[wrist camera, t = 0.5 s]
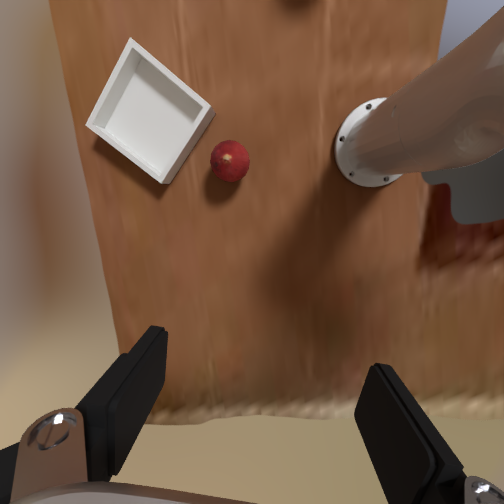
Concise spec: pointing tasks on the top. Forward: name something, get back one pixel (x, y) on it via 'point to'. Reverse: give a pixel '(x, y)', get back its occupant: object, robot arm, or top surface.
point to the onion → (230, 161)
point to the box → (149, 114)
